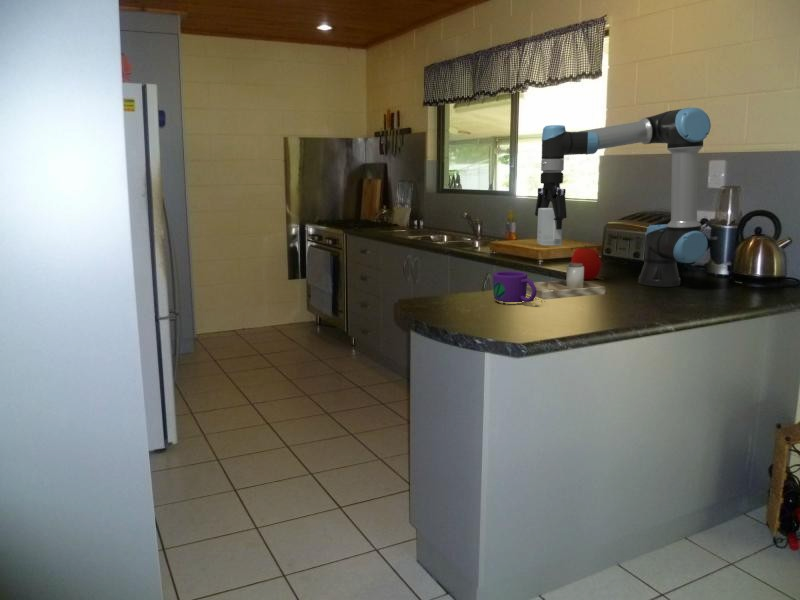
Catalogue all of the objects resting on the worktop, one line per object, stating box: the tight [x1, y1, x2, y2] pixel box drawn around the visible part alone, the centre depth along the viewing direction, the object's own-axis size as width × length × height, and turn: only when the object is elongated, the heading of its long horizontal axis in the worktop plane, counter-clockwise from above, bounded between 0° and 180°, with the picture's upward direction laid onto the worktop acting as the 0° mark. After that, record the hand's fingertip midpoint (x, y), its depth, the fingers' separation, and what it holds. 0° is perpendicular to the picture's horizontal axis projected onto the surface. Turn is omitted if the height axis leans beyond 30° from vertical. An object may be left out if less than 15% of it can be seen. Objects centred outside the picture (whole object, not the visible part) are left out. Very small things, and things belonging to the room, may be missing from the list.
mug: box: [492, 270, 537, 303], centre depth 217 cm, size 17×11×10 cm, turn 36°
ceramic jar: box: [565, 262, 585, 289], centre depth 232 cm, size 6×6×10 cm
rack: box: [526, 279, 606, 301], centre depth 231 cm, size 25×18×4 cm
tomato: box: [570, 245, 602, 281], centre depth 258 cm, size 13×11×14 cm
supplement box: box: [536, 207, 564, 247], centre depth 225 cm, size 7×7×13 cm
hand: (549, 237), depth 226 cm, fingers closed on supplement box, 9 cm apart
